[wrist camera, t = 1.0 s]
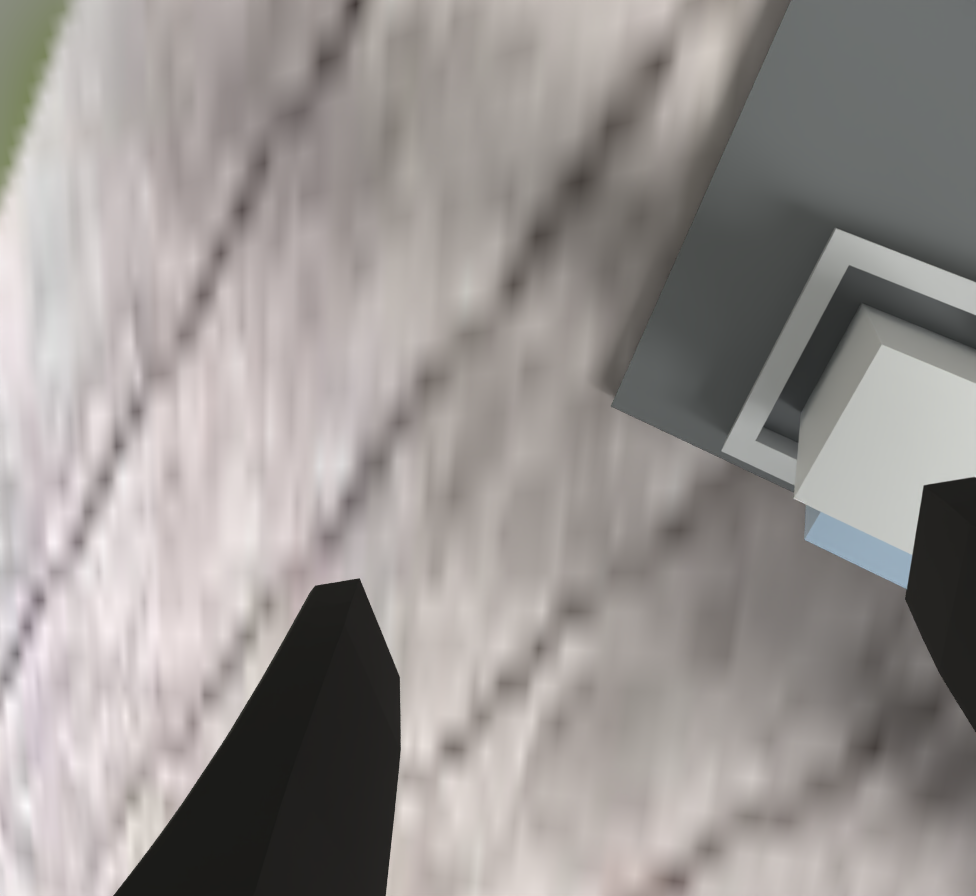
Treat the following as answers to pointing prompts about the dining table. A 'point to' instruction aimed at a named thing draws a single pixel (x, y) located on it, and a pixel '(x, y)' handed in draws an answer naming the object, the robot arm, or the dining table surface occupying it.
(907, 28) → the port board
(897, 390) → the plug
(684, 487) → the dining table surface
